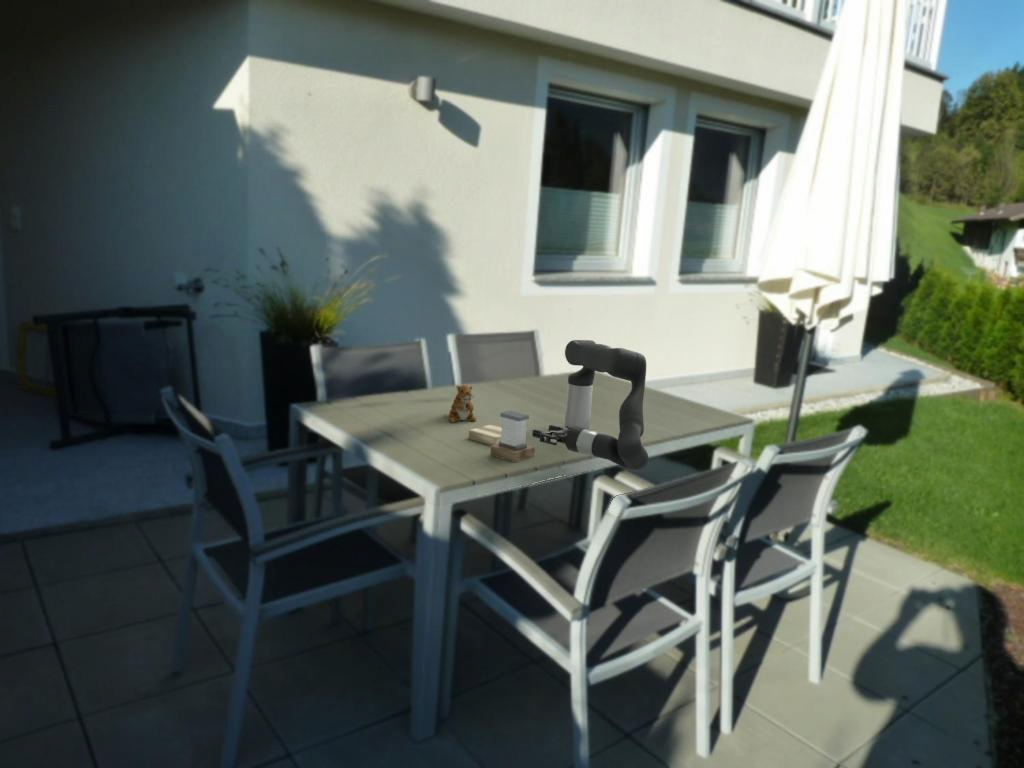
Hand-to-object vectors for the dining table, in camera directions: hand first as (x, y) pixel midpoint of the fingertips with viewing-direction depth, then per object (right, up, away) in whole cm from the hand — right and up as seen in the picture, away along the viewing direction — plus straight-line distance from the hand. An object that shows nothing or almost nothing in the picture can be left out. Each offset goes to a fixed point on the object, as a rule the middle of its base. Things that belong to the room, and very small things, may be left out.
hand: (541, 430), depth 235 cm
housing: (-9, -6, +8) cm, 13 cm away
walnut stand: (-9, -9, +9) cm, 15 cm away
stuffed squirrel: (-28, +1, +51) cm, 58 cm away
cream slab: (-16, -5, +26) cm, 30 cm away
